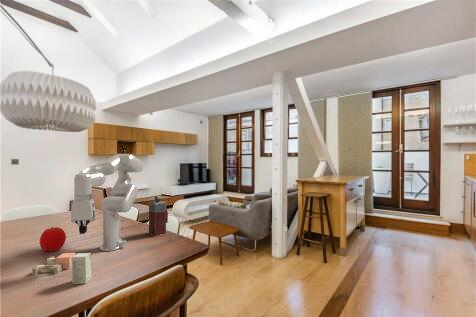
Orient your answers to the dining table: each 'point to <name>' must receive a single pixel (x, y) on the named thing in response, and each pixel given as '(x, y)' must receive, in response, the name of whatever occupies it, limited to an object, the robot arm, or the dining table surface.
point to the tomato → (52, 239)
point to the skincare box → (81, 268)
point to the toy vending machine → (157, 217)
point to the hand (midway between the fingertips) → (83, 233)
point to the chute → (48, 267)
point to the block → (65, 260)
